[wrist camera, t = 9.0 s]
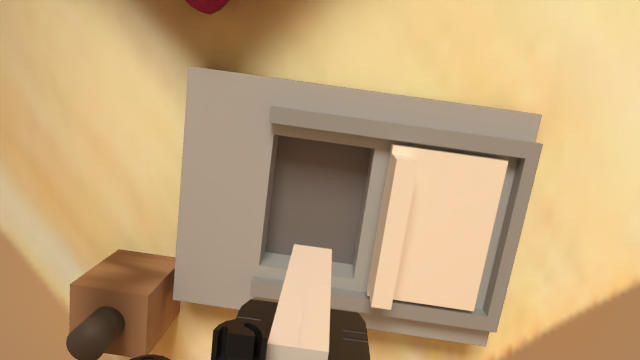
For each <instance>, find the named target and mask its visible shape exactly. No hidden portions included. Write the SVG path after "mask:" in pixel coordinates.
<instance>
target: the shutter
mask: <svg viewBox="0 0 640 360" xmlns="http://www.w3.org/2000/svg"><path fill="white" fill-rule="evenodd" d="M507 166H508V161H506V160H504V159H498V158H491V157H483V156H476V155H469V154H462V153H455V152H448V151H441V150H434V149H427V148H419V147H412V146H405V145H398V144H391V150H390V156H389V162H388V168H387V173H386V179H385V185H384V191H383V197H382V203H381V208H380V214H379V220H378V226H377V232H376V238H375V243H374V249H373V255H372V261H371V267H370V273H369V278H368V284H367V296H370V303H371V307H374V308H381V309H388V310H391V307H392V302H393V300H400V301H406V302H413V303H420V304H427V305H434V306H440V307H447V308H454V309H461V310H467V311H474V308H475V304H476V300H477V295H478V291H479V287H480V282H481V278H482V274H483V269H484V265H485V261H486V256H487V252H488V248H489V243H490V239H491V235H492V230H493V226H494V222H495V218H496V213H497V209H498V205H499V200H500V196H501V192H502V187H503V183H504V179H505V174H506V170H507Z"/></svg>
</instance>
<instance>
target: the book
mask: <svg viewBox="0 0 640 360" xmlns="http://www.w3.org/2000/svg"><path fill="white" fill-rule="evenodd" d="M186 1H187V2H188V3H189V4H190V5H191V6H192V7H194V8H195V9H197V10H199V11H201V12H203V13H207V14H212V13H214V12H216V11H218V10H220V9H221V8H222V7H224V6H225V5H226V3H227V2H228V1H229V0H186Z"/></svg>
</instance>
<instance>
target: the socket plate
mask: <svg viewBox="0 0 640 360" xmlns="http://www.w3.org/2000/svg"><path fill="white" fill-rule="evenodd" d="M541 117H542V115H540V114H533V113H526V112H519V111H511V110H504V109H497V108H490V107H482V106H475V105H468V104H461V103H453V102H446V101H439V100H432V99H425V98H417V97H410V96H403V95H396V94H388V93H381V92H374V91H367V90H359V89H352V88H345V87H338V86H330V85H323V84H316V83H309V82H301V81H294V80H287V79H280V78H273V77H265V76H258V75H251V74H244V73H236V72H229V71H222V70H215V69H207V68H200V67H193V66H189V69H188V84H187V98H186V113H185V128H184V142H183V157H182V172H181V187H180V201H179V216H178V231H177V245H176V260H175V275H174V289H173V300H177V301H184V302H190V303H197V304H204V305H211V306H217V307H224V308H231V309H237V310H240V308H241V306H242V305H244V304H245V303H246V302H248V301H249V300H250V299H255V300H262V301H269V302H276V303H278V302H279V299H280V295H281V291H282V287H283V284H284V280H285V276H286V273H287V269H288V265H289V261H290V258H291V254H292V250H293V247H294V244H297V245H305V246H312V247H319V248H327V249H332V265H331V298H330V309H336V310H343V311H350V312H357V313H359V314H360V316H361V317H362V318H363V319H364V321H365V322H366V329H372V330H378V331H385V332H392V333H399V334H405V335H412V336H419V337H426V338H432V339H439V340H446V341H452V342H459V343H466V344H473V345H479V346H486V344H487V339H488V335H489V331H490V332H497V328H498V324H499V320H500V316H501V312H502V308H503V304H504V300H505V296H506V292H507V288H508V283H509V279H510V275H511V271H512V267H513V263H514V259H515V255H516V251H517V247H518V243H519V239H520V235H521V231H522V227H523V223H524V219H525V215H526V211H527V206H528V202H529V198H530V194H531V190H532V186H533V182H534V178H535V174H536V170H537V166H538V162H539V158H540V154H541V150H542V146H543V144H541V143H537V142H536V137H537V133H538V129H539V125H540V121H541ZM391 144H398V145H405V146H412V147H419V148H427V149H434V150H441V151H448V152H455V153H462V154H469V155H476V156H483V157H491V158H498V159H504V160H506V161H508V166H507V170H506V174H505V179H504V183H503V187H502V192H501V196H500V200H499V205H498V209H497V213H496V218H495V222H494V226H493V230H492V235H491V239H490V243H489V248H488V252H487V256H486V261H485V265H484V269H483V274H482V278H481V282H480V287H479V291H478V295H477V300H476V304H475V308H474V311H467V310H461V309H454V308H447V307H440V306H434V305H427V304H420V303H413V302H406V301H400V300H393V302H392V307H391V310H388V309H381V308H374V307H371V303H370V296H367V284H368V278H369V273H370V267H371V261H372V255H373V249H374V243H375V238H376V232H377V226H378V220H379V214H380V208H381V203H382V197H383V191H384V185H385V179H386V173H387V168H388V162H389V156H390V150H391Z"/></svg>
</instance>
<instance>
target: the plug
mask: <svg viewBox="0 0 640 360" xmlns="http://www.w3.org/2000/svg"><path fill="white" fill-rule="evenodd" d="M175 260H176V258H174V257H167V256H161V255H154V254H147V253H140V252H133V251H126V250H117V251H116V252H115V253H113V254H112V255H110V256H109V257H108V258H106V259H105V260H103V261H102V262H101V263H99V264H98V265H96V266H95V267H94V268H92V269H91V270H89V271H88V272H86V273H85V274H84V275H82V276H81V277H79V278H78V279H77V280H75V281H74V282H72V283H71V284H70V334H69V335H68V338H67V342H66V344H67V348H68V351H69V352H70V354H71V355H72V356H73V357H75V358H76V359H78V360H97V359H98V358H99V357H100V356H101V355H102V354H103V353H108V354H114V355H121V356H128V357H134V358H136V357H139V356H142V355H148V354H149V353H150V352H151V350H152V349H153V348H154V346H155V345H156V343H157V342H158V341H159V339H160V338H161V337H162V335H163V334H164V333H165V331H166V330H167V328H168V327H169V326H170V324H171V323H172V322H173V320H174V319H175V318H176V316H177V315H178V313H179V312H180V301H177V300H173V289H174V275H175Z"/></svg>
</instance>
